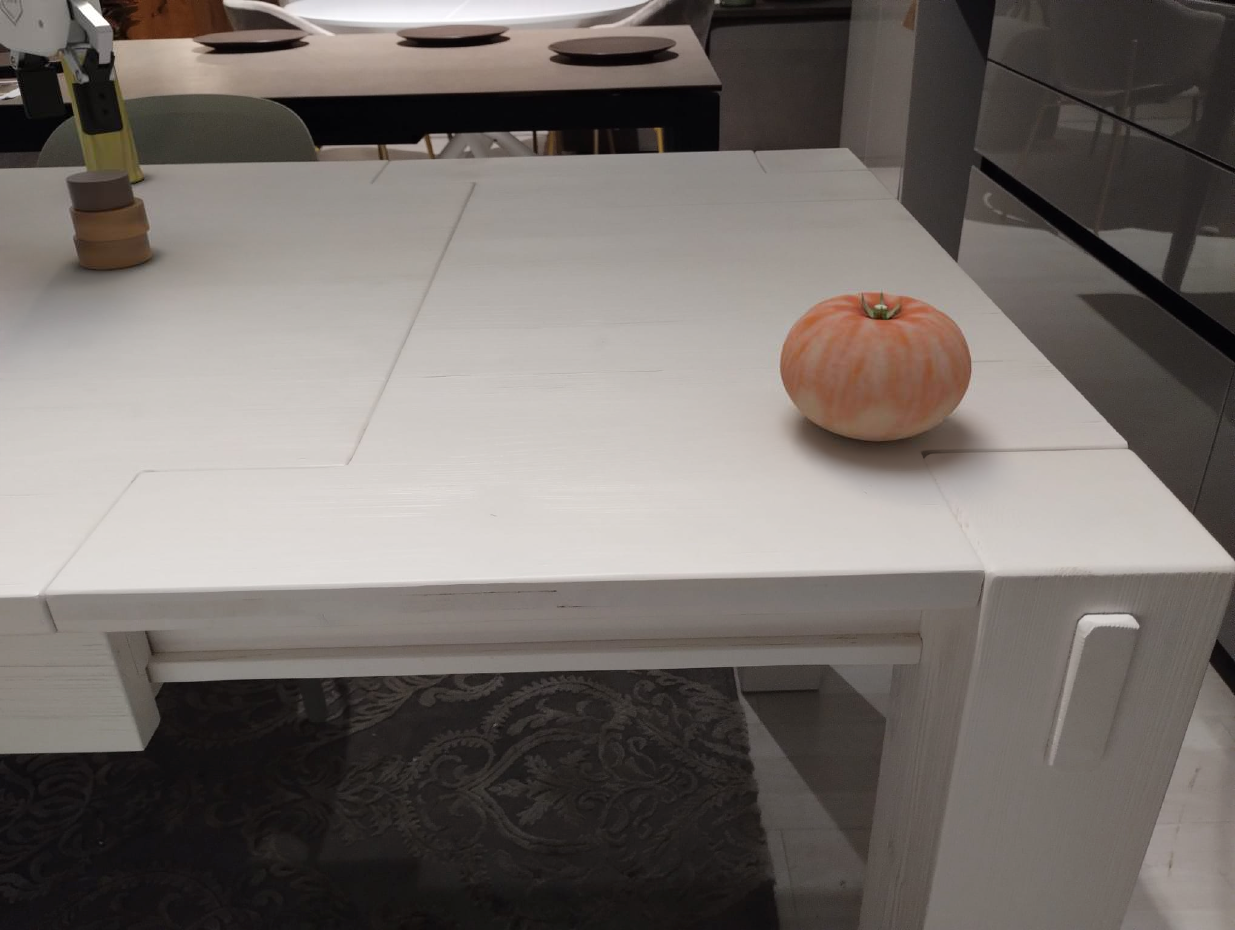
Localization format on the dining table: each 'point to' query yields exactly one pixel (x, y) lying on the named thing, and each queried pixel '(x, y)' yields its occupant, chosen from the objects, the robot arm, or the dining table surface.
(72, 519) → the dining table surface
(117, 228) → the pile chip top
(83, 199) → the walnut chip
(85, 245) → the pile chip bottom
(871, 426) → the tomato
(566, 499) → the dining table surface
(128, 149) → the vase
